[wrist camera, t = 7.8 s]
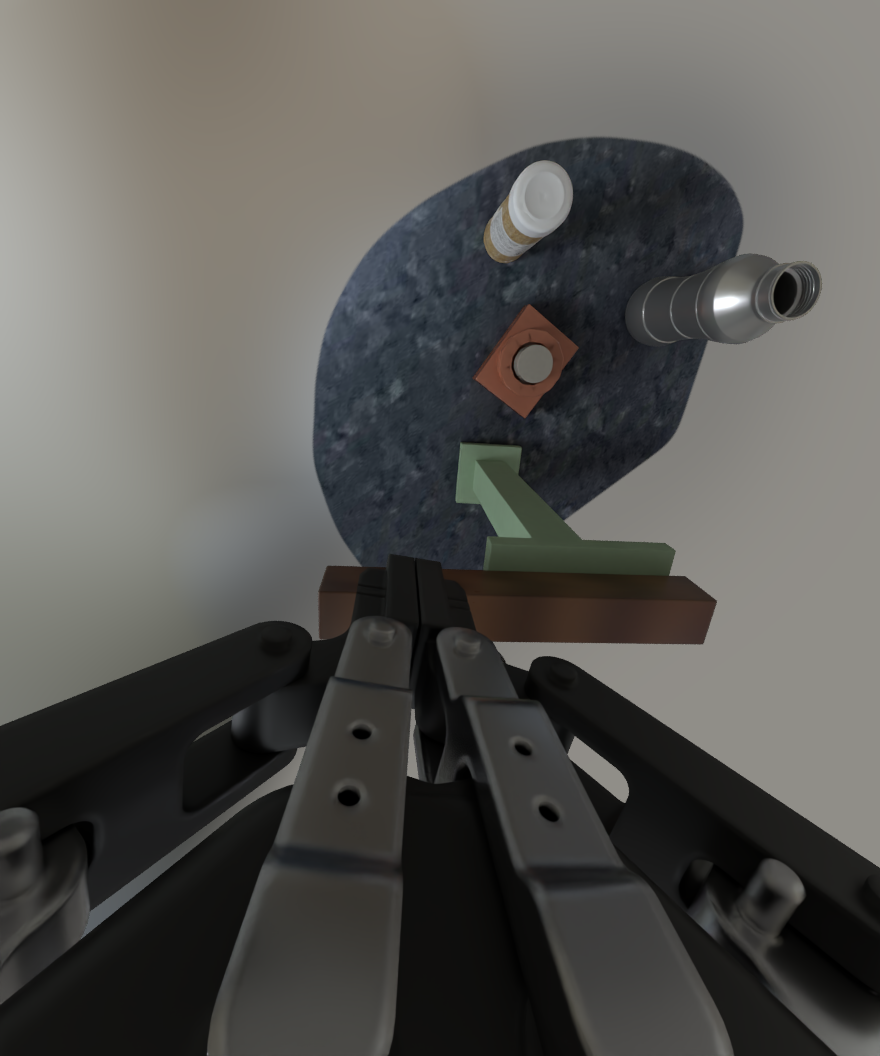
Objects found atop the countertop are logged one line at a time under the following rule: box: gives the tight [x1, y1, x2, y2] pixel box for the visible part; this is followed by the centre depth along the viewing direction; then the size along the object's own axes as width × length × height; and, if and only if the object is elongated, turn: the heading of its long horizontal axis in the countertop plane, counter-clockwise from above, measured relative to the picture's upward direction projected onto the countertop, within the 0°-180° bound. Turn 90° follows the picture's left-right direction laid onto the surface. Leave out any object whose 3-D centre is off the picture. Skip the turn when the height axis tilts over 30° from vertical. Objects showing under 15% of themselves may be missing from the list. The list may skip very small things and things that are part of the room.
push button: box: [514, 345, 553, 383], centre depth 46 cm, size 4×4×2 cm
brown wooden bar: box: [318, 566, 717, 644], centre depth 25 cm, size 21×3×3 cm, turn 86°
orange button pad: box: [473, 304, 579, 418], centre depth 49 cm, size 9×7×4 cm
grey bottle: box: [625, 254, 822, 346], centre depth 40 cm, size 6×7×20 cm
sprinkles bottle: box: [484, 160, 573, 263], centre depth 40 cm, size 5×5×13 cm
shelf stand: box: [455, 442, 675, 576], centre depth 41 cm, size 11×7×30 cm, turn 86°
